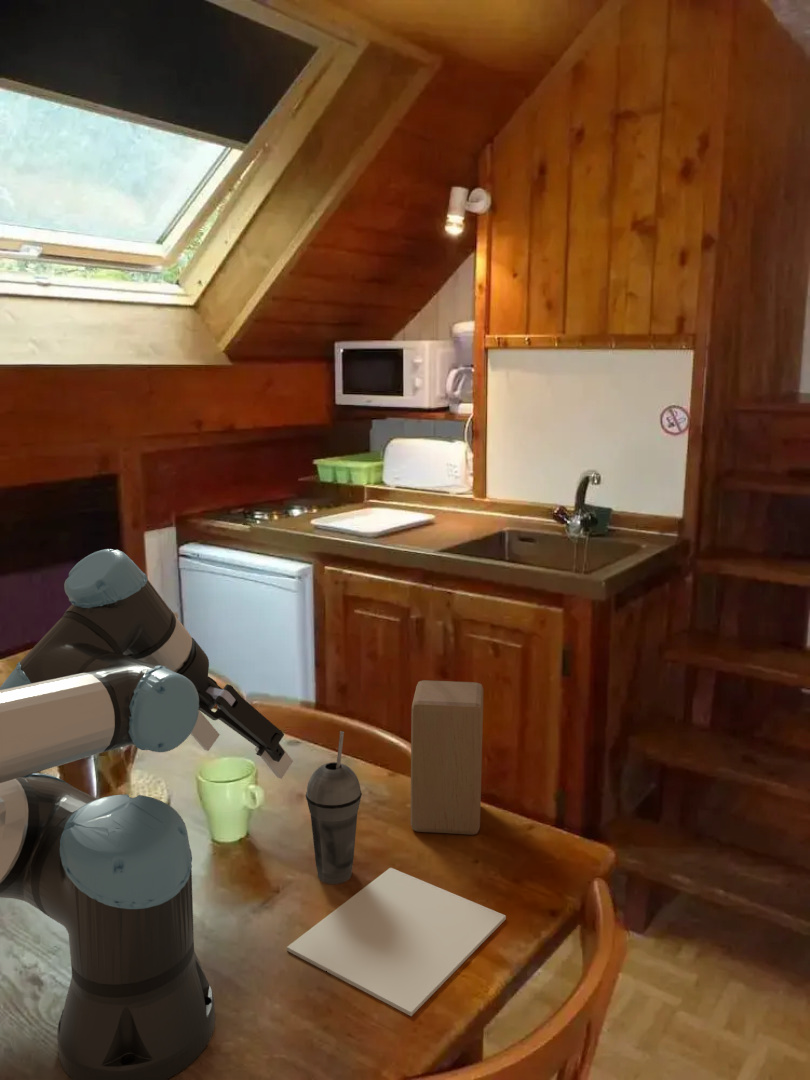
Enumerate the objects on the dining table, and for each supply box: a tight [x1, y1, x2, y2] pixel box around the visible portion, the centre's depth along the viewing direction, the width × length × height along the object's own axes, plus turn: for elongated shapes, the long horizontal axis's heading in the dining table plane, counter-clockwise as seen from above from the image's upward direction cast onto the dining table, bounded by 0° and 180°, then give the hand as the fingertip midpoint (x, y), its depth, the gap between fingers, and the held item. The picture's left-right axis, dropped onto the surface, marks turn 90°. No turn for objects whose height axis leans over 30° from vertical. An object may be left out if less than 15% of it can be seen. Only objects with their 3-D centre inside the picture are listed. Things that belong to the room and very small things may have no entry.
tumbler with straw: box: [305, 730, 363, 885], centre depth 114 cm, size 7×7×20 cm
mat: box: [286, 867, 507, 1017], centre depth 104 cm, size 20×18×1 cm
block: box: [410, 679, 484, 836], centre depth 129 cm, size 10×10×20 cm
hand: (247, 755), depth 116 cm, fingers open, 13 cm apart
